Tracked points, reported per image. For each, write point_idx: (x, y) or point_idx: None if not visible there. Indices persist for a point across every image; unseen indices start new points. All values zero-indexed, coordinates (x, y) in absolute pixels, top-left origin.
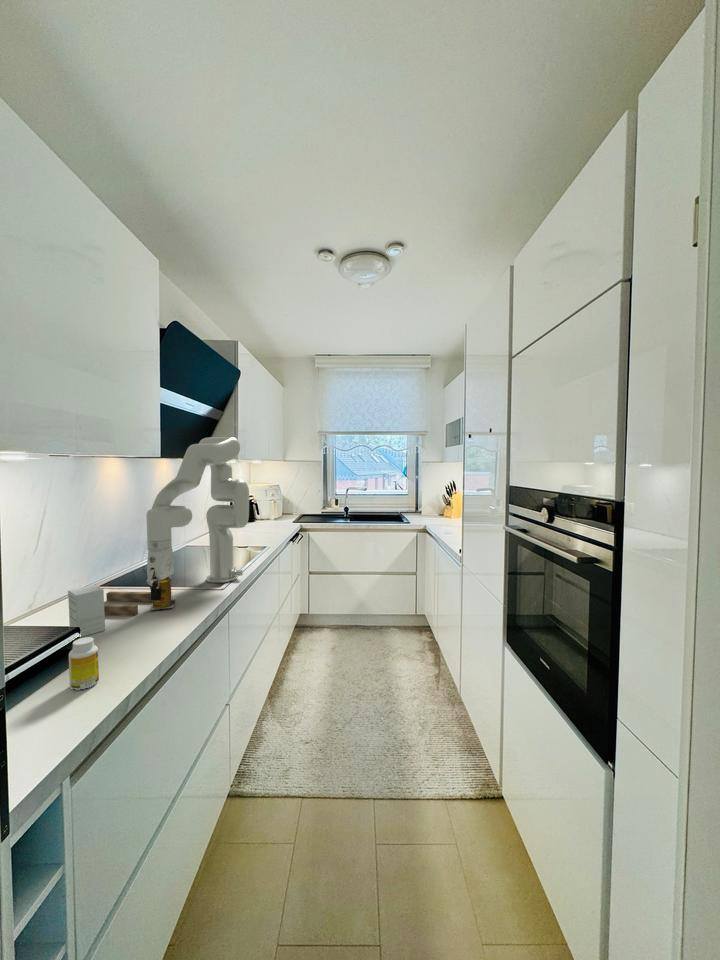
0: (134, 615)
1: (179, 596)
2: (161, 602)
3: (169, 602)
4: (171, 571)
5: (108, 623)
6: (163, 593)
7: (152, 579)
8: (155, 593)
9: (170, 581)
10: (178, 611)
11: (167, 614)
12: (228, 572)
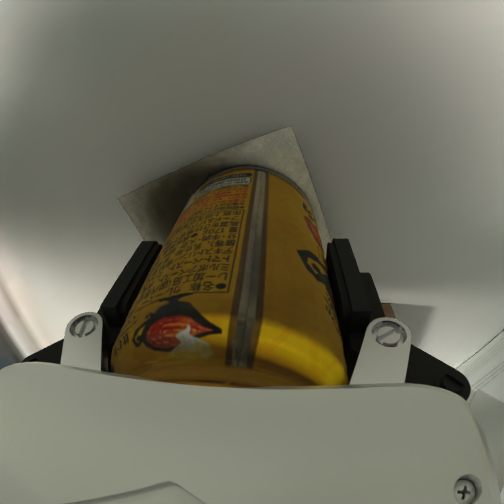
0: (389, 304)
1: (50, 223)
2: (314, 224)
3: (259, 177)
4: (64, 420)
5: (456, 345)
6: (314, 252)
7: (488, 443)
8: (376, 307)
9: (182, 295)
10: (321, 63)
11: (385, 120)
12: None
